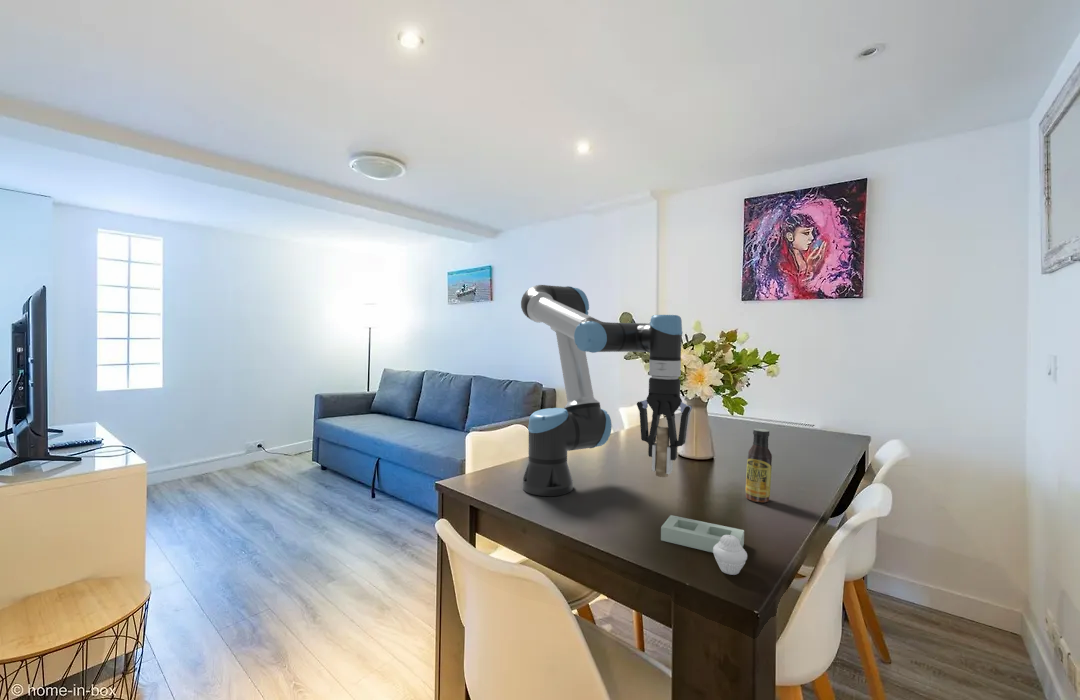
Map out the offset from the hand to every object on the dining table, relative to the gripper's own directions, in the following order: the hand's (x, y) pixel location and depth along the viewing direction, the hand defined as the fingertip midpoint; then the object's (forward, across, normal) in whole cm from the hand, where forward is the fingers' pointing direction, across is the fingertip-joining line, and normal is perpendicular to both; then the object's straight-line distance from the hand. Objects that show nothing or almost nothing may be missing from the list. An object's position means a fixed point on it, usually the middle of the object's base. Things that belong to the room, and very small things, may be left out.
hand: (662, 471), depth 111 cm
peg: (+1, 0, 0) cm, 1 cm away
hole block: (+12, +12, -8) cm, 18 cm away
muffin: (+12, +19, -18) cm, 29 cm away
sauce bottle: (+12, +20, +28) cm, 36 cm away
